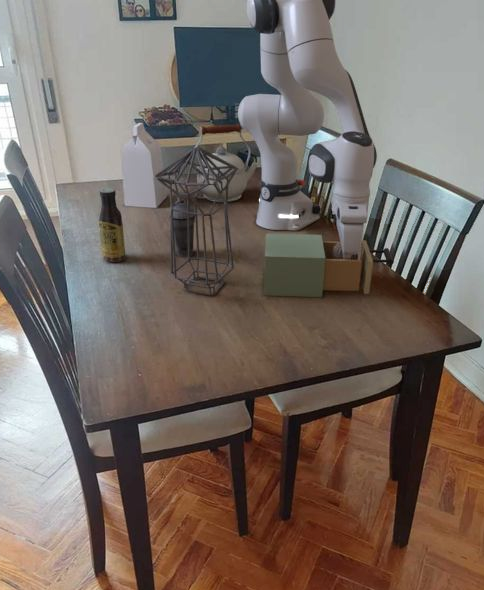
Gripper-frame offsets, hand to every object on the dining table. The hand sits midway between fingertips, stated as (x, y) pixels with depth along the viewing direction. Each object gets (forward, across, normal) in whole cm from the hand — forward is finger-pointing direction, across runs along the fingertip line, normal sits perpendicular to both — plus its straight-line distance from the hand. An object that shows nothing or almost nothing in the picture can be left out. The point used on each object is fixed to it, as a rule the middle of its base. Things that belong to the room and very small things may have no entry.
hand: (344, 256), depth 141 cm
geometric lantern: (+8, +4, -36) cm, 37 cm away
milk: (+8, -61, -65) cm, 90 cm away
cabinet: (+8, 0, -13) cm, 15 cm away
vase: (+4, 0, 0) cm, 4 cm away
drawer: (+7, 0, +2) cm, 7 cm away
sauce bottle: (+8, -12, -63) cm, 65 cm away
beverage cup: (+8, -17, -44) cm, 48 cm away
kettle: (+8, -70, -36) cm, 79 cm away
